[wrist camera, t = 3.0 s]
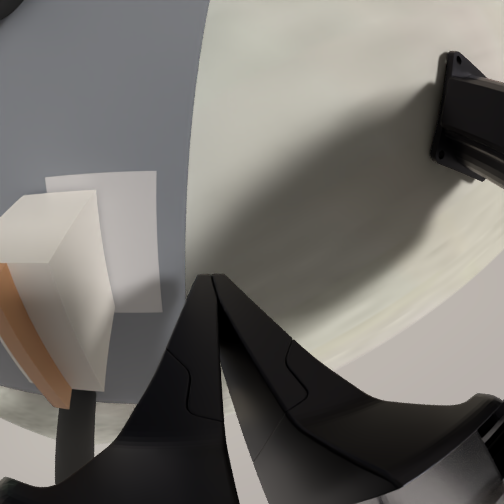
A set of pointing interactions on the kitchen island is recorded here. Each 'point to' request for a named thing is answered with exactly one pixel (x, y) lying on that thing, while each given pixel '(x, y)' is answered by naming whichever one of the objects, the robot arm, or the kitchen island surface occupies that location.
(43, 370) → the orange striped block
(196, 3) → the panel
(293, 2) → the kitchen island surface
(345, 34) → the kitchen island surface
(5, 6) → the cord post
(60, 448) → the cord post
